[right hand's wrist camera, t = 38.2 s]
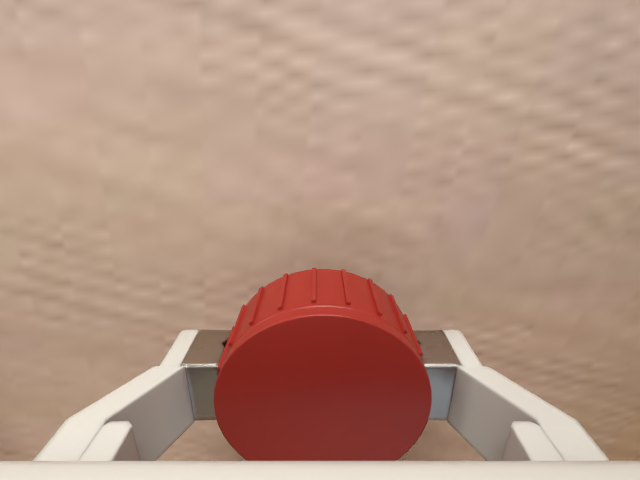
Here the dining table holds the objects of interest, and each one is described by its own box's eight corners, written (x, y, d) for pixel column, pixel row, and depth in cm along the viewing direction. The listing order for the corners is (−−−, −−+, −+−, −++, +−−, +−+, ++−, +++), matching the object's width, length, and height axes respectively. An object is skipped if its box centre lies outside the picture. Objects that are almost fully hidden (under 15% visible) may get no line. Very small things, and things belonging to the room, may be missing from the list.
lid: (200, 366, 11) (170, 432, 9) (294, 229, 9) (287, 266, 7) (342, 437, 12) (347, 511, 10) (447, 325, 10) (482, 383, 8)
